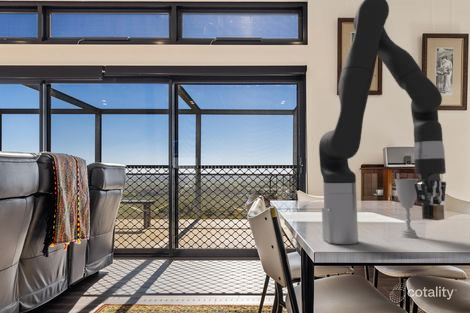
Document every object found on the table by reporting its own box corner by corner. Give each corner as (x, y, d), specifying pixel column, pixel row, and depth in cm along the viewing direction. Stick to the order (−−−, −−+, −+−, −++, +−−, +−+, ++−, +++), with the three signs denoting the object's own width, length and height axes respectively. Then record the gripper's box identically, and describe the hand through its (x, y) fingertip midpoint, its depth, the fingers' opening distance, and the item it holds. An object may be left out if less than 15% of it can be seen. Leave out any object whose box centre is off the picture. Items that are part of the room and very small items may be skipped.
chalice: (425, 239, 93) (422, 179, 94) (400, 238, 94) (398, 179, 95) (416, 234, 100) (413, 178, 101) (393, 234, 101) (391, 179, 103)
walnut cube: (422, 218, 89) (421, 203, 89) (429, 217, 91) (428, 203, 91) (437, 220, 85) (436, 204, 86) (444, 219, 88) (443, 203, 88)
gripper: (431, 156, 82) (435, 221, 81) (454, 157, 90) (458, 216, 89) (402, 158, 89) (406, 218, 88) (427, 158, 96) (430, 214, 95)
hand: (432, 217), depth 88 cm, fingers closed on walnut cube, 4 cm apart
